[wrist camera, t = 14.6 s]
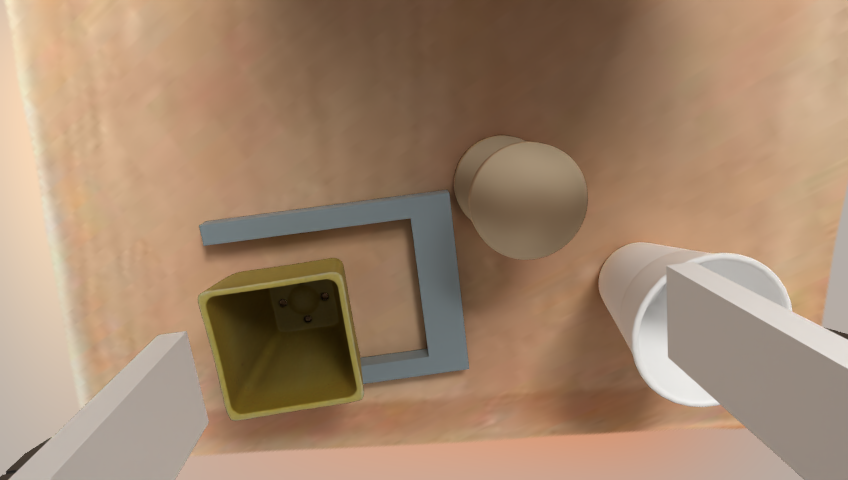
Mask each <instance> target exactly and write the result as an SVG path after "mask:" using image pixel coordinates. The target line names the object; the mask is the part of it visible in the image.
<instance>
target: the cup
mask: <svg viewBox="0 0 848 480" xmlns="http://www.w3.org/2000/svg"><path fill="white" fill-rule="evenodd" d="M688 262H695V263H697V264H699V265H701V266H703V267H705V268H707V269H709V270H711V271H713V272H715V273H717V274H719V275H721V276H723V277H725V278H727V279H729V280H730V281H732V282H734V283H736V284H738V285H740V286H742V287H744V288H746V289H748V290H750V291H752V292H754V293H756V294H758V295H760V296H762V297H764V298H766V299H768V300H770V301H772V302H774V303H776V304H778V305H780V306H782V307H784V308H786V309H788V310H790V311H792V307H791V301H790V298H789V296H788V293H787V291H786V288H785V287H784V285H783V284H782V282H781V281H780V279H779V278H778V276H777V275H776V274H775V273H774V272H772V271H771V270H770V269H769V268H768V267H767V266H766V265H764V264H762V263H760V262H758V261H757V260H755V259H753V258H750V257H747V256H743V255H740V254H733V253H714V254H713V253H707V252H701V251H694V250H688V249H683V248H676V247H670V246H665V245H659V244H653V243H647V242H636V243H631V244H628V245H625V246H623V247H621V248H619V249H617V250H616V251H615V252H614V253H612V254H611V255H610V256H609V258H608V259H607V260H606V262H605V263H604V265H603V266H602V269H601V272H600V275H599V281H598V282H599V292H600V296H601V298H602V300H603V302H604V304H605V305H606V307H607V309H608V311H609V312H610V314H611V316H612V318H613V319H614V321H615V323H616V325H617V327H618V328H619V330H620V332H621V334H622V335H623V338H624V339H625V341H626V343H627V345H628V347H629V348H630V350H631V352H632V354H633V358H634V362H635V365H636V367H637V369H638V371H639V373H640V375H641V377H642V378H643V379H644V381H645V382H646V383H647V384H648V386H649V387H650V388H651V389H653V390H654V391H655V392H656V393H658V394H659V395H660V396H662V397H664V398H666V399H668V400H670V401H672V402H674V403H678V404H682V405H686V406H692V407H709V406H717V405H721V404H719V403H718V402H717V401H716V400H715V399H714V398H713V397H712V396H711V395H709V394H708V393H707V392H706V391H705V390H704V389H703V388H702V387H700V386H699V385H698V384H697V383H696V382H695V381H694V380H693V379H692V378H690V377H689V376H688V375H687V374H686V373H685V372H684V371H683V370H682V369H680V368H679V367H678V366H677V365H676V364H675V363H674V362H673V361H671V360H670V359H669V358H668V337H667V283H666V265H674V264H681V263H688Z"/></svg>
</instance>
